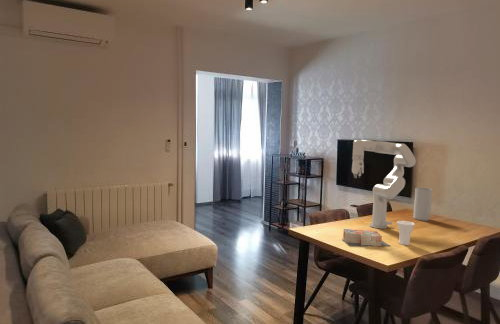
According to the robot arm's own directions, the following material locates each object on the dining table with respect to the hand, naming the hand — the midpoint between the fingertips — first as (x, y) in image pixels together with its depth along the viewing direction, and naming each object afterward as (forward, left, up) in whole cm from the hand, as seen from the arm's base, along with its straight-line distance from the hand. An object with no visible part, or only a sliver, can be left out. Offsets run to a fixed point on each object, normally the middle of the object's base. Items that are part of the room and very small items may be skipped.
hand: (356, 183), depth 261 cm
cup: (-19, +34, -33) cm, 51 cm away
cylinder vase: (-71, -29, -33) cm, 84 cm away
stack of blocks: (+7, +25, -30) cm, 39 cm away
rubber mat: (+6, +32, -33) cm, 46 cm away
